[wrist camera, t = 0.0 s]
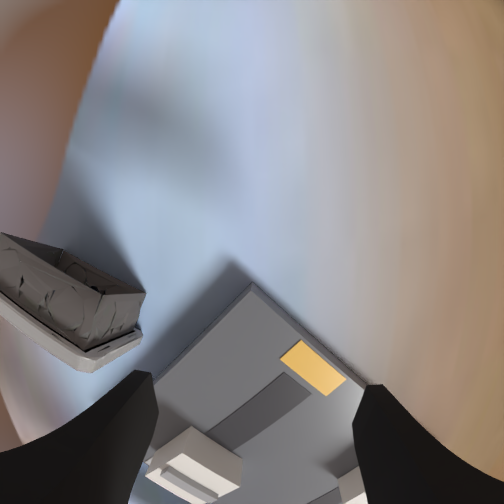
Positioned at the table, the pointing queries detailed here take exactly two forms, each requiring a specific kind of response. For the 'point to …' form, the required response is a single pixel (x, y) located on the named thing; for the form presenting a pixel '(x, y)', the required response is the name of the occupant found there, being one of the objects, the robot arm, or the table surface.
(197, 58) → the table surface
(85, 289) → the electrical switch
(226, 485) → the slider
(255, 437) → the switch panel
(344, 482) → the slider
